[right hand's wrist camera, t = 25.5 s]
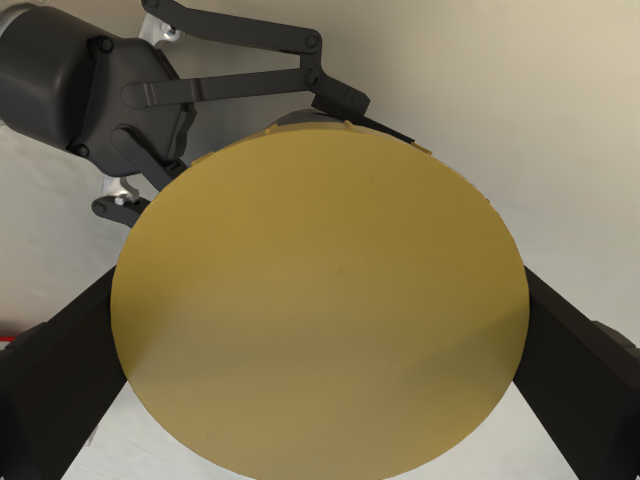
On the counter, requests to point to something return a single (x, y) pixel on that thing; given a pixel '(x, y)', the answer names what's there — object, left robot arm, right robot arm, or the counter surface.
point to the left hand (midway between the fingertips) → (370, 215)
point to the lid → (319, 305)
